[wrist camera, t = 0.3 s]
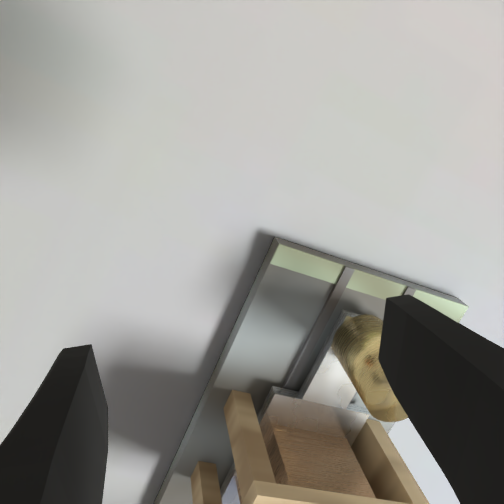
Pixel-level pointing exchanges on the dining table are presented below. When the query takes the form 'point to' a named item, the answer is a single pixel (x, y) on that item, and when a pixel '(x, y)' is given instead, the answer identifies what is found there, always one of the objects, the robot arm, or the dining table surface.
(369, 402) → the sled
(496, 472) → the robot arm
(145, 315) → the dining table surface
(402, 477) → the track
